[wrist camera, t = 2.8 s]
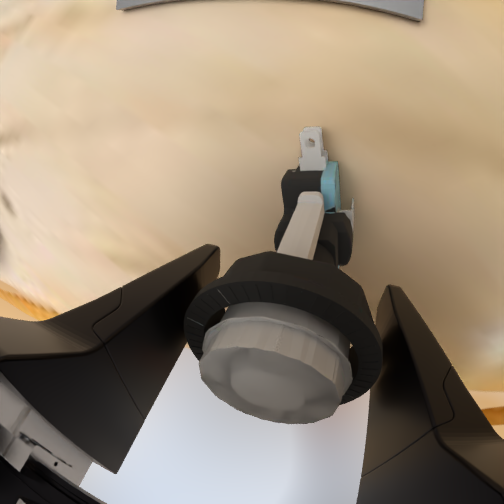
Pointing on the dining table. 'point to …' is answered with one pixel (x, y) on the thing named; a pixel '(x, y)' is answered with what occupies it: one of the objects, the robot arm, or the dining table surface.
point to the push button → (291, 309)
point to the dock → (398, 3)
